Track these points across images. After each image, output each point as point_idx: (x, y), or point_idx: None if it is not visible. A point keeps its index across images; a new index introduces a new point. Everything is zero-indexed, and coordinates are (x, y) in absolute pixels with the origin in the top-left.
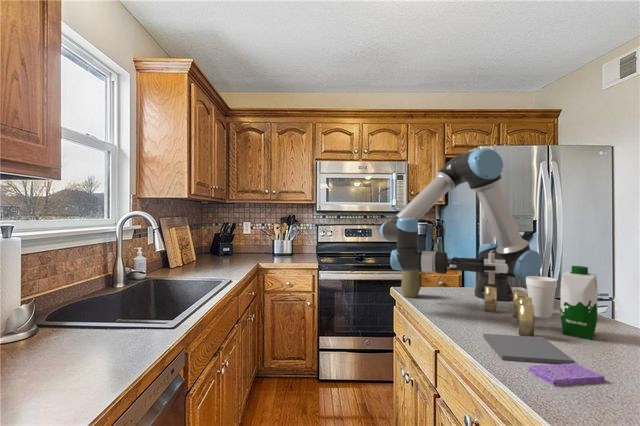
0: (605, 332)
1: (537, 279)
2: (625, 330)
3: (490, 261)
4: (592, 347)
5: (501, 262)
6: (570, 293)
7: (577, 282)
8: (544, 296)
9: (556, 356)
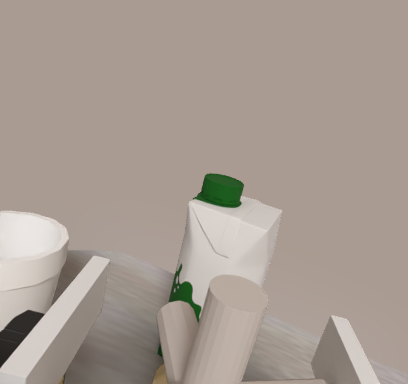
0: (163, 298)
1: None
2: (138, 266)
3: (242, 373)
4: (290, 367)
5: (98, 289)
6: (264, 274)
7: (273, 236)
8: (52, 296)
9: None
